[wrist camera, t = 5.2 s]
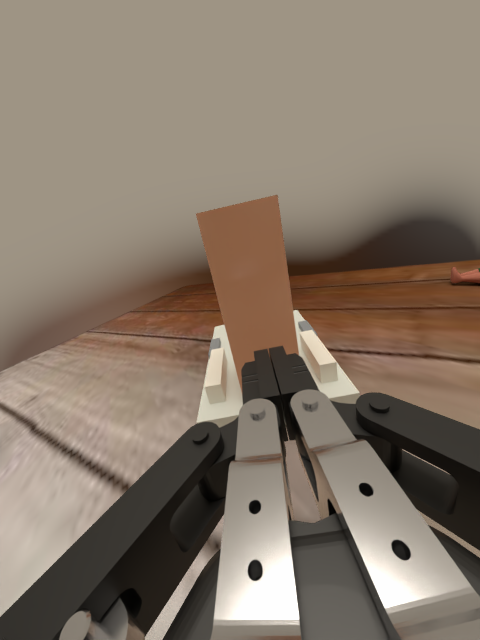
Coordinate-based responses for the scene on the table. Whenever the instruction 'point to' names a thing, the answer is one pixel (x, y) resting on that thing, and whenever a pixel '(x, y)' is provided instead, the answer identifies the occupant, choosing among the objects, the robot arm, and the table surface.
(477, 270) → the toy character
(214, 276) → the block
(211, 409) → the white stand base
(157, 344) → the table surface
